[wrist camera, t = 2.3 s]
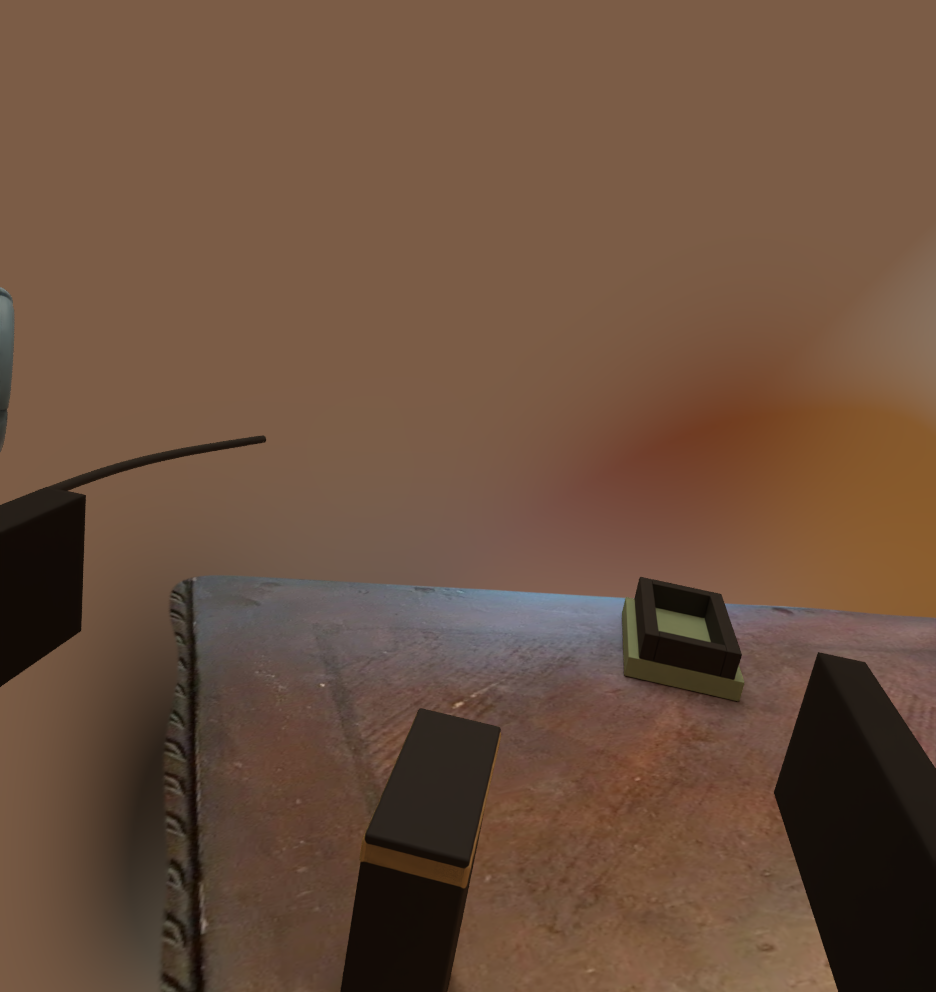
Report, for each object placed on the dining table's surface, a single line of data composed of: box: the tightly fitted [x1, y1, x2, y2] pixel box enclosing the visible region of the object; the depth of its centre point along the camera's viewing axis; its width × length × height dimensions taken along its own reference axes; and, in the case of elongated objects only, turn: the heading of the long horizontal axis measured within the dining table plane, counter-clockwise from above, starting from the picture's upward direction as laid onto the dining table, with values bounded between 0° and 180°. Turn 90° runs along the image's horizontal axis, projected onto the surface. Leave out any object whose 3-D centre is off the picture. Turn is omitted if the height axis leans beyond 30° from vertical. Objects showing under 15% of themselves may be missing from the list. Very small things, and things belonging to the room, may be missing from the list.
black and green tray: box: [622, 577, 744, 701], centre depth 63 cm, size 11×8×4 cm
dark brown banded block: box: [341, 708, 501, 992], centre depth 28 cm, size 7×3×11 cm, turn 171°
